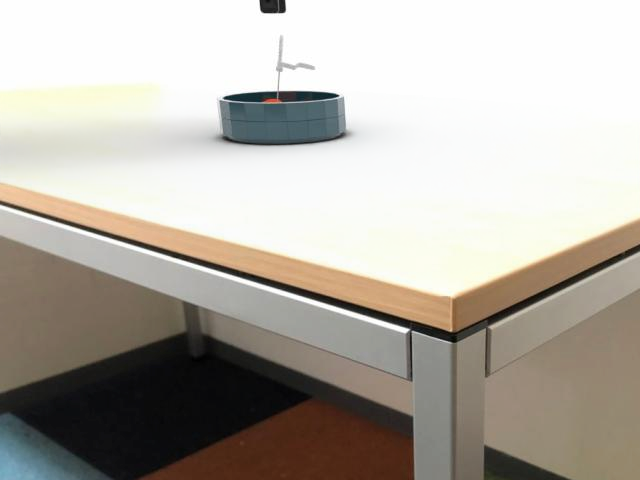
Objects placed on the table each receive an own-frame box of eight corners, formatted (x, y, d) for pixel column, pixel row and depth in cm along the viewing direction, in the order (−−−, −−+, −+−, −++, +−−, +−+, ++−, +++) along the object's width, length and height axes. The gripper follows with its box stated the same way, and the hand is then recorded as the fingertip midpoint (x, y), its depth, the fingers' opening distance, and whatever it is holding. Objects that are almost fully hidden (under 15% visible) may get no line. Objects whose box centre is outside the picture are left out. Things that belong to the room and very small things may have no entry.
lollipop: (307, 136, 95) (300, 35, 90) (240, 133, 97) (229, 34, 92) (325, 129, 101) (319, 34, 96) (261, 127, 103) (252, 33, 98)
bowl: (211, 146, 92) (205, 103, 90) (233, 127, 107) (228, 91, 105) (344, 143, 94) (342, 102, 92) (348, 125, 108) (346, 89, 106)
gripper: (239, -127, 94) (251, 13, 100) (218, -150, 81) (234, 13, 87) (299, -126, 95) (308, 13, 101) (288, -148, 82) (299, 13, 88)
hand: (274, 13), depth 94 cm, fingers open, 8 cm apart
